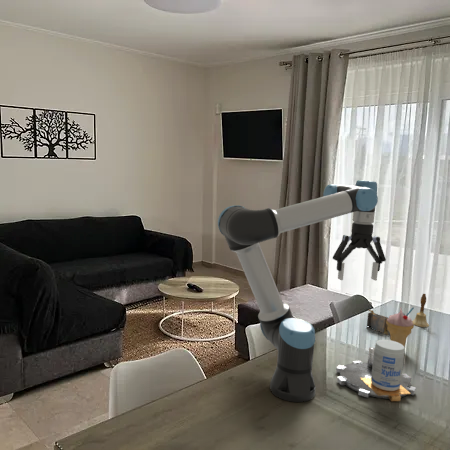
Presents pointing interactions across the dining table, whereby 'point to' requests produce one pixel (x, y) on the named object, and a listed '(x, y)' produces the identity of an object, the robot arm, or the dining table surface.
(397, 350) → the supplement tub
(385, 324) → the ruin model on sheet
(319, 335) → the dining table surface
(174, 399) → the dining table surface
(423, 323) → the hand bell
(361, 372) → the sprocket
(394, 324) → the ice cream cone
